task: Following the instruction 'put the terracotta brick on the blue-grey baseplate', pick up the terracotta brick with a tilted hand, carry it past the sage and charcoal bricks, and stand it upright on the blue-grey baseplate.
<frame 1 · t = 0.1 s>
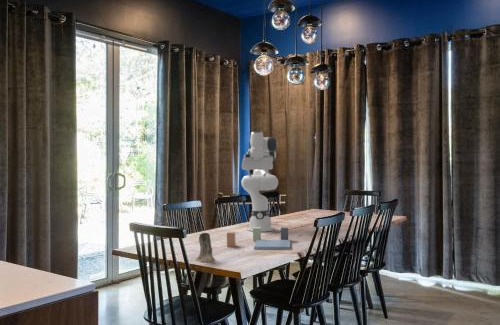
hand: (257, 176, 285), 39 cm above the table, tool pointing down, fingers open, 8 cm apart
charcoal brick: (284, 240, 271), on the table
blue-grey baseplate: (272, 245, 256), on the table
tree stump: (205, 260, 224), on the table
sage brick: (257, 240, 272), on the table
terracotta brick: (231, 246, 257), on the table
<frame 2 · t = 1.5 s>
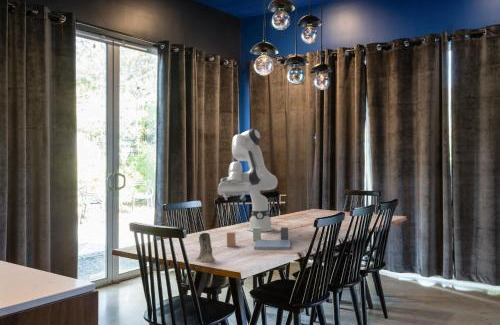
hand: (233, 199, 268), 26 cm above the table, tool tilted 45°, fingers open, 8 cm apart
nothing on the table moved.
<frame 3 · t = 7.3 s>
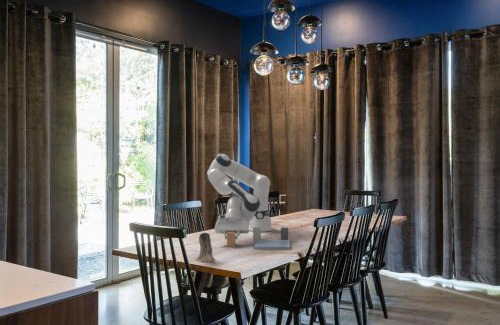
hand: (231, 238, 256), 4 cm above the table, tool tilted 45°, fingers closed on terracotta brick, 4 cm apart
terracotta brick: (231, 246, 257), on the table, touching gripper
everything else where it was.
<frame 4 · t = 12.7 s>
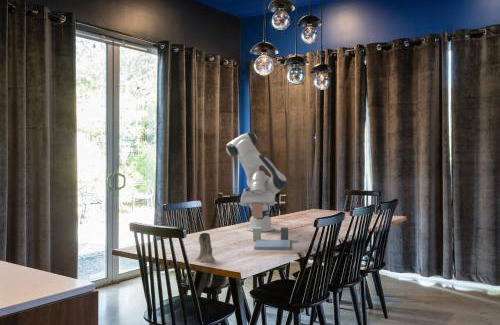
hand: (257, 210, 253), 21 cm above the table, tool tilted 50°, fingers closed on terracotta brick, 4 cm apart
terracotta brick: (257, 217, 253), point 17 cm above the table, touching gripper
everything else where it was.
when the fingers open (7 cm above the table, at t = 18.0 s): terracotta brick stays where it is, resting on blue-grey baseplate.
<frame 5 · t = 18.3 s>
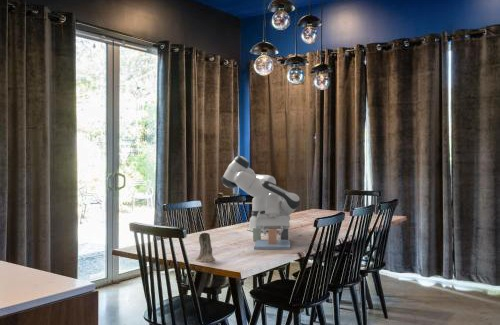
hand: (272, 234, 255), 7 cm above the table, tool tilted 45°, fingers open, 8 cm apart
terracotta brick: (272, 243, 256), point 1 cm above the table, touching blue-grey baseplate
everything else where it was.
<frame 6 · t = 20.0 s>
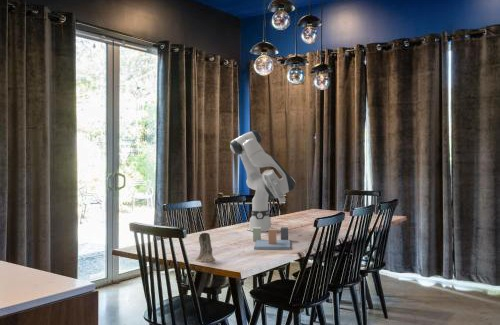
hand: (279, 191, 253), 31 cm above the table, tool tilted 70°, fingers open, 8 cm apart
nothing on the table moved.
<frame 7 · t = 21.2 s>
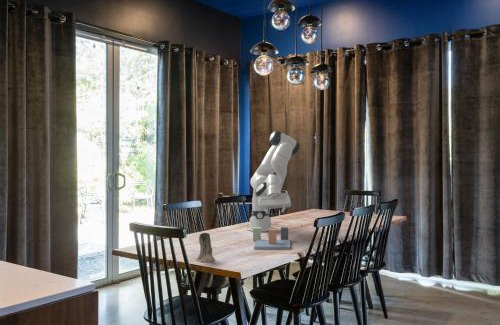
hand: (275, 212, 267), 18 cm above the table, tool tilted 45°, fingers open, 8 cm apart
nothing on the table moved.
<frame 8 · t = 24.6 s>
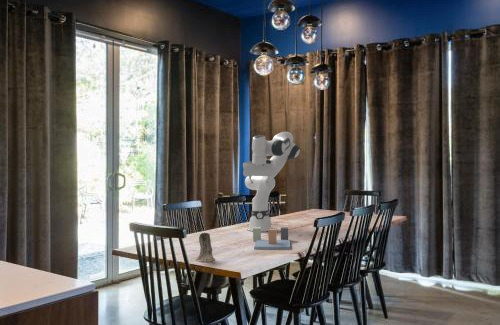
hand: (259, 183, 274), 35 cm above the table, tool pointing down, fingers open, 8 cm apart
nothing on the table moved.
at the end: terracotta brick inside the target area on the blue-grey baseplate (0.0 cm from its centre), point 1.5 cm above the blue-grey baseplate's base; terracotta brick tilted 0°; charcoal brick moved 0.1 cm from its start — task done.
